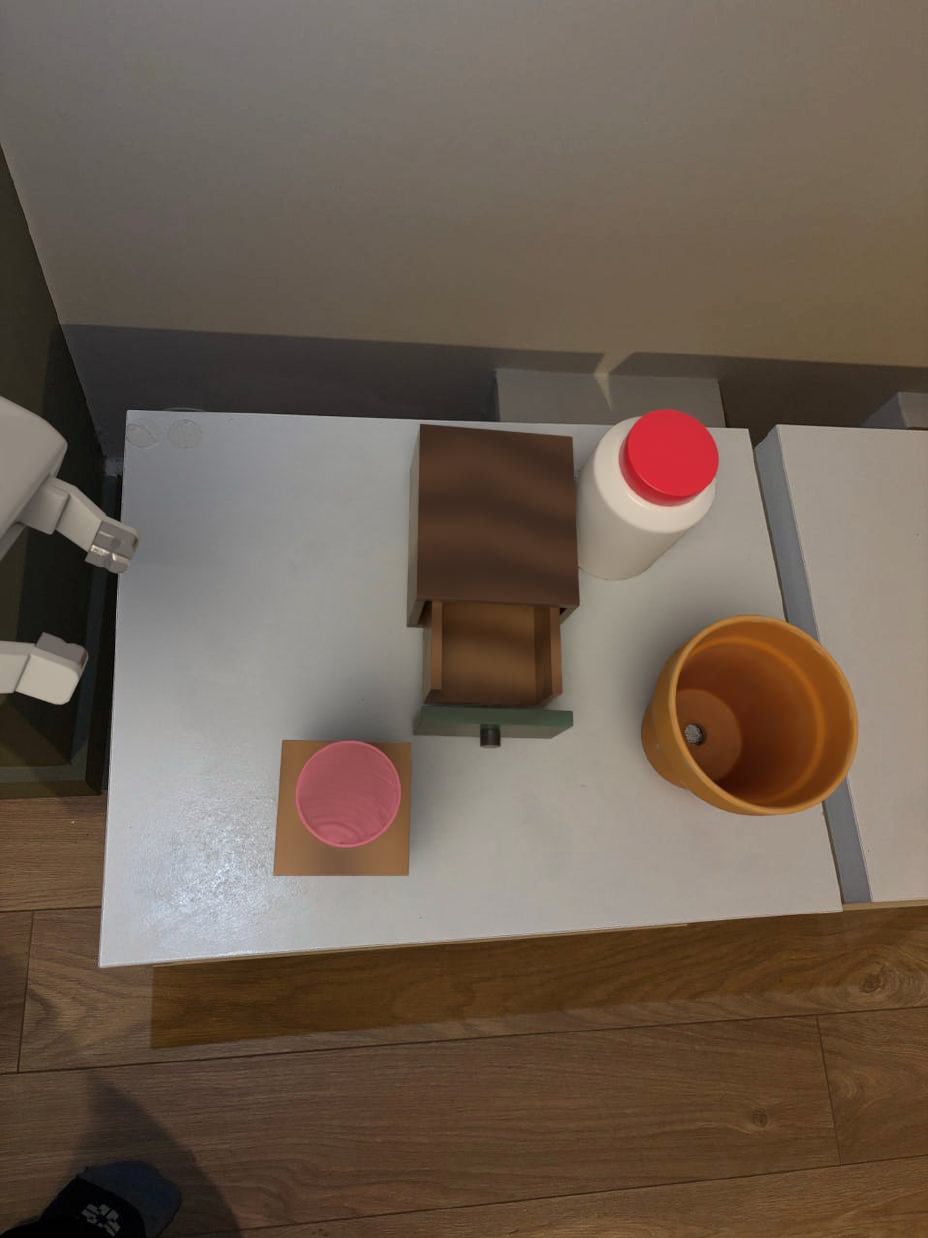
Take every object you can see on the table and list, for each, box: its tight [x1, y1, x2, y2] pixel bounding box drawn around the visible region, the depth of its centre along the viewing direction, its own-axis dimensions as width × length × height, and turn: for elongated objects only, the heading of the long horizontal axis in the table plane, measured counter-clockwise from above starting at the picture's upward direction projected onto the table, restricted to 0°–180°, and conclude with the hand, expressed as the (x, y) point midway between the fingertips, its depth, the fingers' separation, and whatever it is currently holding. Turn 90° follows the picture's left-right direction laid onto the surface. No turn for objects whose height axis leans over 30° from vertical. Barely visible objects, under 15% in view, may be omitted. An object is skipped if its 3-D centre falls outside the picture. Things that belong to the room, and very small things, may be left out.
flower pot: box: [640, 614, 859, 817], centre depth 63 cm, size 14×14×13 cm
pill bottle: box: [574, 408, 720, 581], centre depth 67 cm, size 10×10×14 cm
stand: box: [272, 739, 413, 877], centre depth 56 cm, size 8×8×14 cm
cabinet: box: [406, 423, 581, 629], centre depth 67 cm, size 15×13×8 cm
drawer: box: [412, 601, 574, 749], centre depth 64 cm, size 15×11×6 cm
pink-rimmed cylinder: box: [295, 739, 401, 850], centre depth 44 cm, size 5×5×10 cm
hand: (110, 609), depth 33 cm, fingers open, 8 cm apart
